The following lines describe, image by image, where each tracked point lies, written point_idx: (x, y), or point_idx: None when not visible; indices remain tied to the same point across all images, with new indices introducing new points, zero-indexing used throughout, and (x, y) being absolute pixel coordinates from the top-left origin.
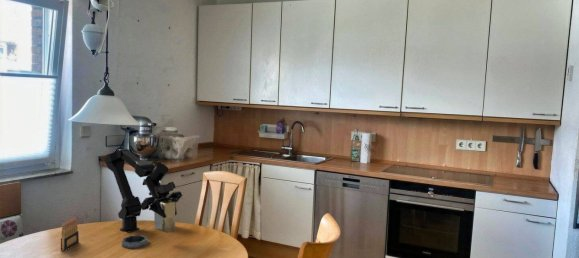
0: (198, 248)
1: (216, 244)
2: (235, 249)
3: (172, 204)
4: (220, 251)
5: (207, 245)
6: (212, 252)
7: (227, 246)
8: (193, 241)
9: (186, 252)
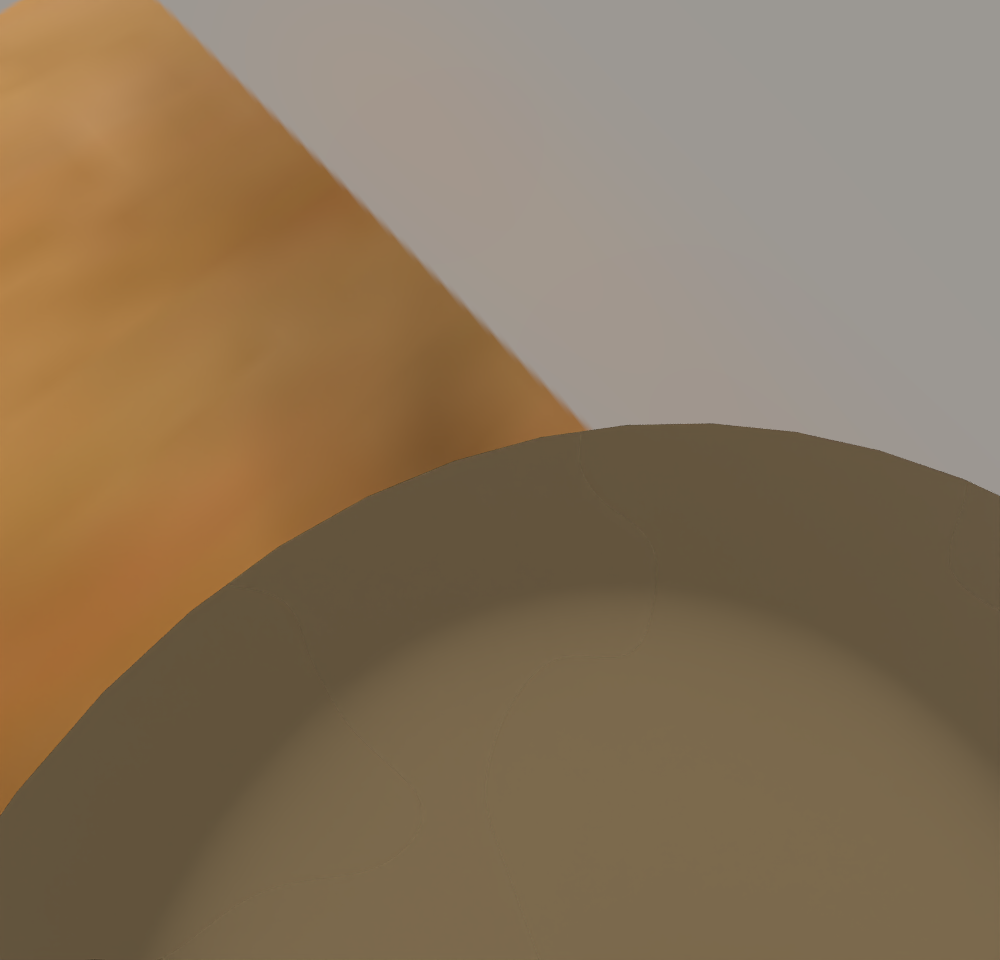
0: (310, 341)
1: (37, 272)
2: (65, 30)
3: (696, 462)
4: (222, 106)
5: (143, 331)
6: (305, 147)
7: (25, 137)
8: (120, 604)
9: (512, 354)
